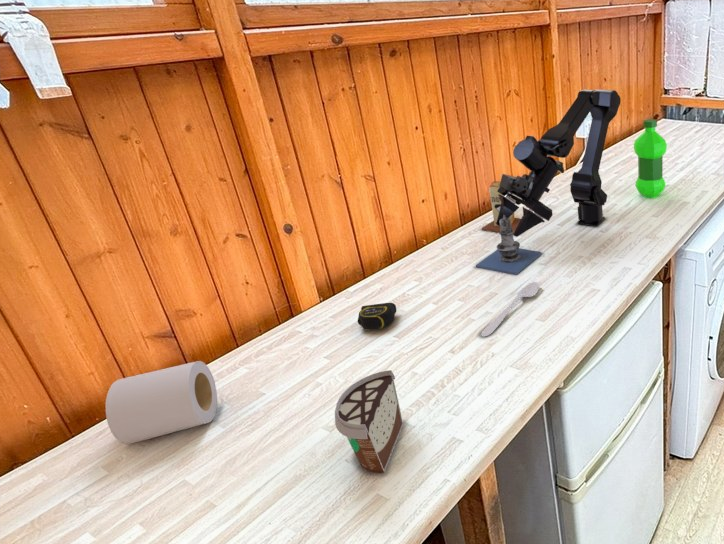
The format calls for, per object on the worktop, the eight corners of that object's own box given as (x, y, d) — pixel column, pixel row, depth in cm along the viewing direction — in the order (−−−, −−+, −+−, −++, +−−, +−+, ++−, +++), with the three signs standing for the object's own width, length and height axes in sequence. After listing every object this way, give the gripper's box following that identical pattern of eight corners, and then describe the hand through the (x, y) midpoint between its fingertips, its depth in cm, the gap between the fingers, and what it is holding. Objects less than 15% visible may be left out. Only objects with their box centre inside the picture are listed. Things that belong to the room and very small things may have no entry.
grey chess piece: (524, 253, 136) (518, 210, 131) (517, 263, 130) (512, 219, 125) (502, 252, 136) (496, 210, 131) (495, 263, 131) (488, 219, 126)
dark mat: (534, 222, 156) (534, 220, 156) (516, 235, 148) (516, 233, 147) (501, 217, 160) (501, 215, 160) (481, 229, 152) (481, 228, 152)
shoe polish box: (498, 219, 158) (493, 181, 152) (514, 218, 157) (510, 181, 152) (494, 225, 153) (489, 187, 148) (511, 225, 153) (506, 186, 148)
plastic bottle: (636, 190, 179) (635, 117, 169) (667, 190, 178) (667, 117, 167) (633, 200, 170) (631, 124, 160) (665, 200, 169) (665, 124, 158)
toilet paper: (126, 458, 78) (96, 407, 74) (150, 414, 86) (124, 366, 82) (206, 436, 81) (182, 386, 77) (222, 396, 90) (200, 349, 85)
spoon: (544, 289, 119) (543, 282, 119) (491, 338, 102) (490, 332, 102) (528, 286, 121) (528, 279, 120) (474, 334, 104) (473, 327, 103)
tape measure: (399, 313, 112) (395, 298, 110) (392, 331, 106) (388, 316, 104) (365, 317, 111) (361, 302, 109) (357, 336, 105) (352, 320, 103)
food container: (366, 420, 83) (351, 371, 79) (406, 417, 84) (392, 367, 79) (335, 485, 72) (315, 431, 68) (380, 481, 72) (363, 427, 68)
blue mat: (541, 254, 136) (541, 252, 136) (516, 274, 126) (516, 272, 126) (503, 247, 141) (503, 245, 140) (476, 267, 131) (475, 264, 130)
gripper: (499, 154, 132) (465, 205, 131) (536, 169, 119) (499, 226, 118) (529, 176, 140) (498, 225, 139) (567, 193, 127) (533, 247, 125)
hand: (506, 230), depth 130 cm, fingers open, 9 cm apart
